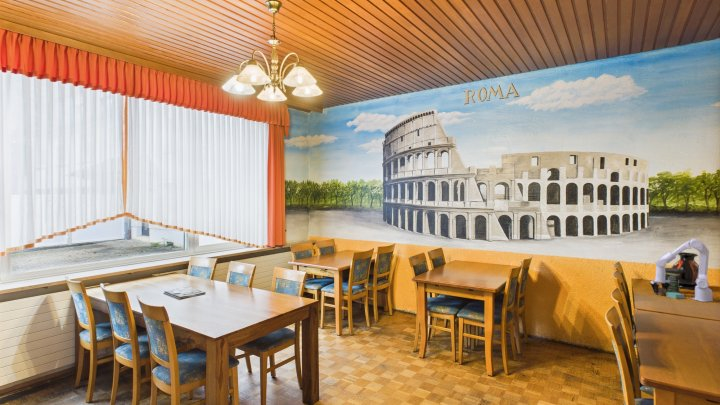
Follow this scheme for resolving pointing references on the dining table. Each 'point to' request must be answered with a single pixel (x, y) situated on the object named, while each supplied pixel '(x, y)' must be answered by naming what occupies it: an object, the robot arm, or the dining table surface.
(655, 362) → the dining table surface
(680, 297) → the teal plinth
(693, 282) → the amphora vase
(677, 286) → the coffee jar
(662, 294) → the walnut cube
